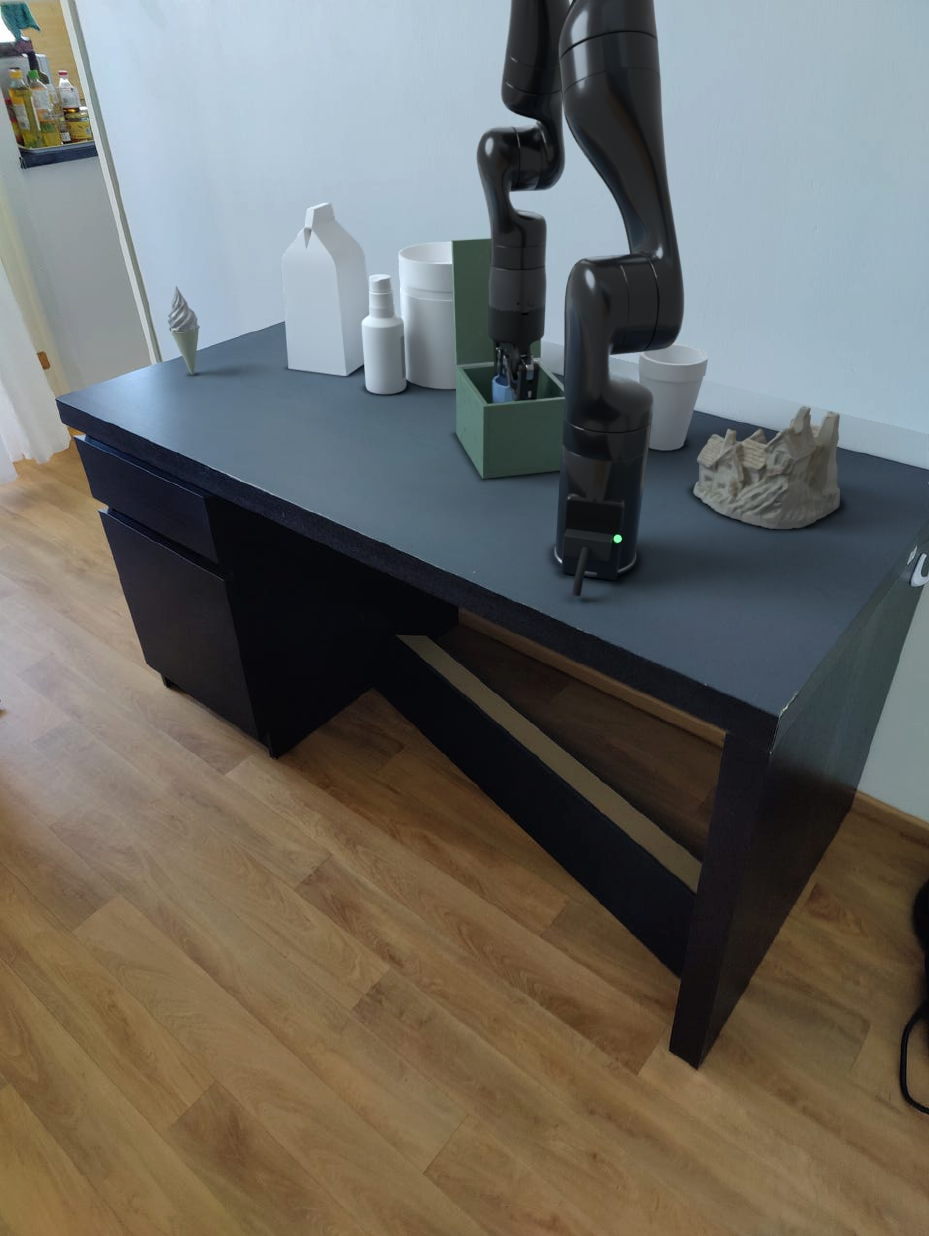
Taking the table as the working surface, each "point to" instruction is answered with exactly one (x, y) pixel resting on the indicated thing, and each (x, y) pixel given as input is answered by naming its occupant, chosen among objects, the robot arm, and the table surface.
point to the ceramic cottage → (773, 474)
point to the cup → (501, 390)
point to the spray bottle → (383, 340)
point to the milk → (324, 296)
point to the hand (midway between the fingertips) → (513, 422)
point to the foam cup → (672, 391)
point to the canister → (429, 315)
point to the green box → (509, 424)
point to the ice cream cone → (184, 329)
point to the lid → (473, 302)
